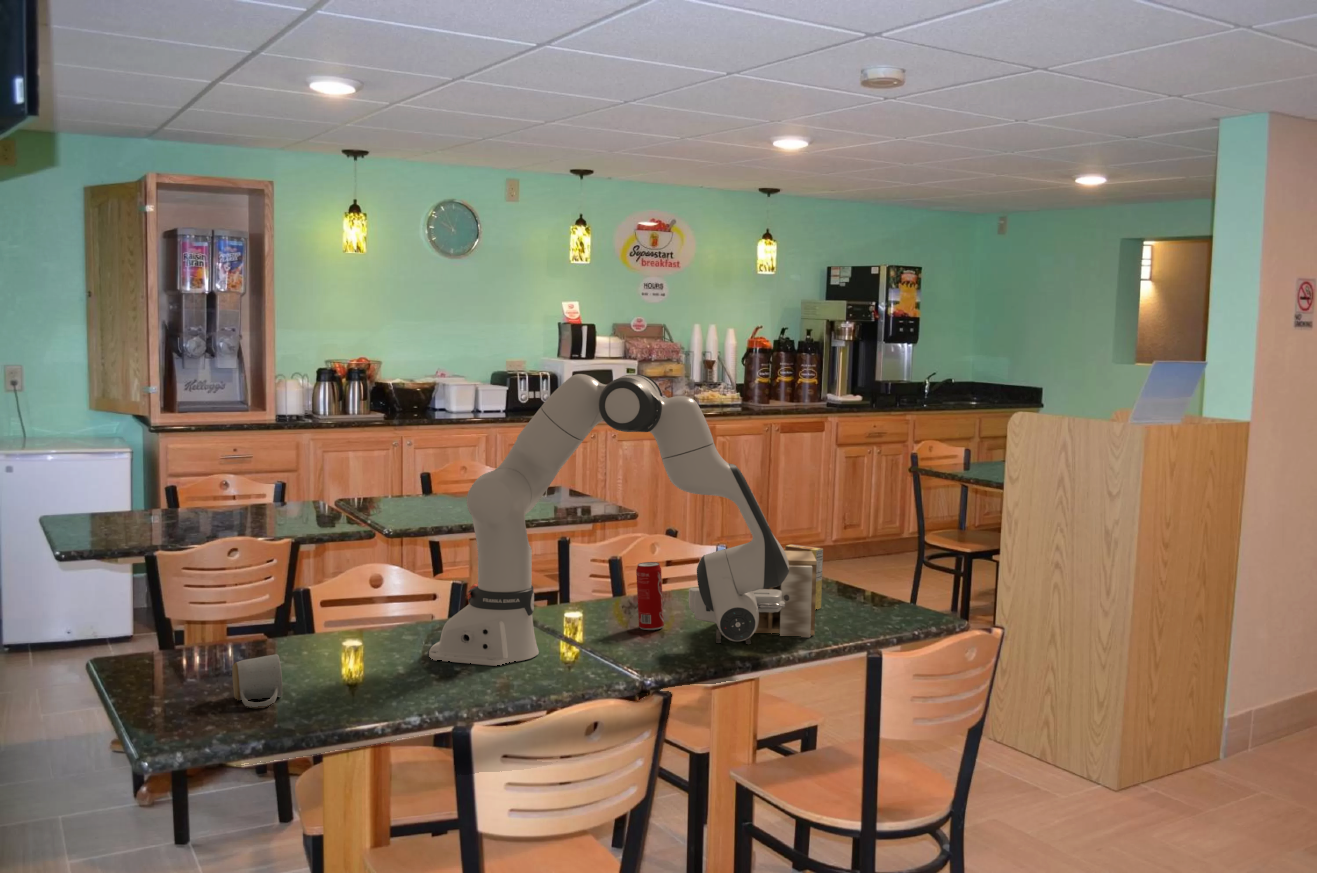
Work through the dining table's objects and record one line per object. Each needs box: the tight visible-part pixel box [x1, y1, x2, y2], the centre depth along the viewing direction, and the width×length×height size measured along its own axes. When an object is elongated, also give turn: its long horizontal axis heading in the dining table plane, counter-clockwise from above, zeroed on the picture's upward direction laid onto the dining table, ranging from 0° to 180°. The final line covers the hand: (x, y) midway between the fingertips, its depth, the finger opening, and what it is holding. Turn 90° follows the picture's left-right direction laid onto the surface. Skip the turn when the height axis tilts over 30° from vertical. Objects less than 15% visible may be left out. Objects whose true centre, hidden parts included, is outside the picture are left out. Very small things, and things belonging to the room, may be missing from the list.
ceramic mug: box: [231, 653, 283, 707], centre depth 200 cm, size 11×8×8 cm
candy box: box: [784, 543, 824, 611], centre depth 280 cm, size 9×4×15 cm, turn 55°
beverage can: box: [635, 561, 665, 631], centre depth 256 cm, size 6×6×15 cm
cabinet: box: [715, 550, 817, 645], centre depth 254 cm, size 22×22×17 cm
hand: (734, 591), depth 248 cm, fingers closed on door, 3 cm apart
